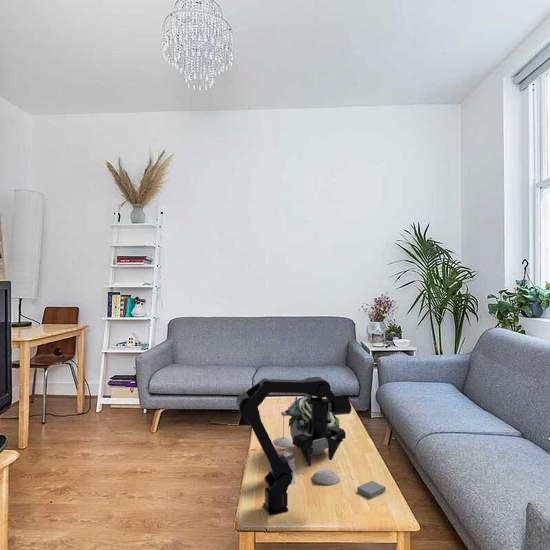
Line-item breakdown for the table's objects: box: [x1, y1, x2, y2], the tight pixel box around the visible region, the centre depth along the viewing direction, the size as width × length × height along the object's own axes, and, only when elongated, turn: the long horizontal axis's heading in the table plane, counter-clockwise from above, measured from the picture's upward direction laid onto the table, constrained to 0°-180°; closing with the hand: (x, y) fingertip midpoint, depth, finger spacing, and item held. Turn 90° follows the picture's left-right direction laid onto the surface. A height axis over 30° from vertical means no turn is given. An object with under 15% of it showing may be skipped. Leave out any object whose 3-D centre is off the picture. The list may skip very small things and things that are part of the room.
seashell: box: [311, 468, 341, 486], centre depth 157 cm, size 10×6×10 cm
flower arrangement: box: [284, 394, 340, 456], centre depth 183 cm, size 25×25×24 cm
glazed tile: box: [356, 480, 387, 499], centre depth 148 cm, size 2×6×8 cm
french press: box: [272, 411, 297, 485], centre depth 156 cm, size 10×12×25 cm
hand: (319, 463), depth 140 cm, fingers open, 9 cm apart
